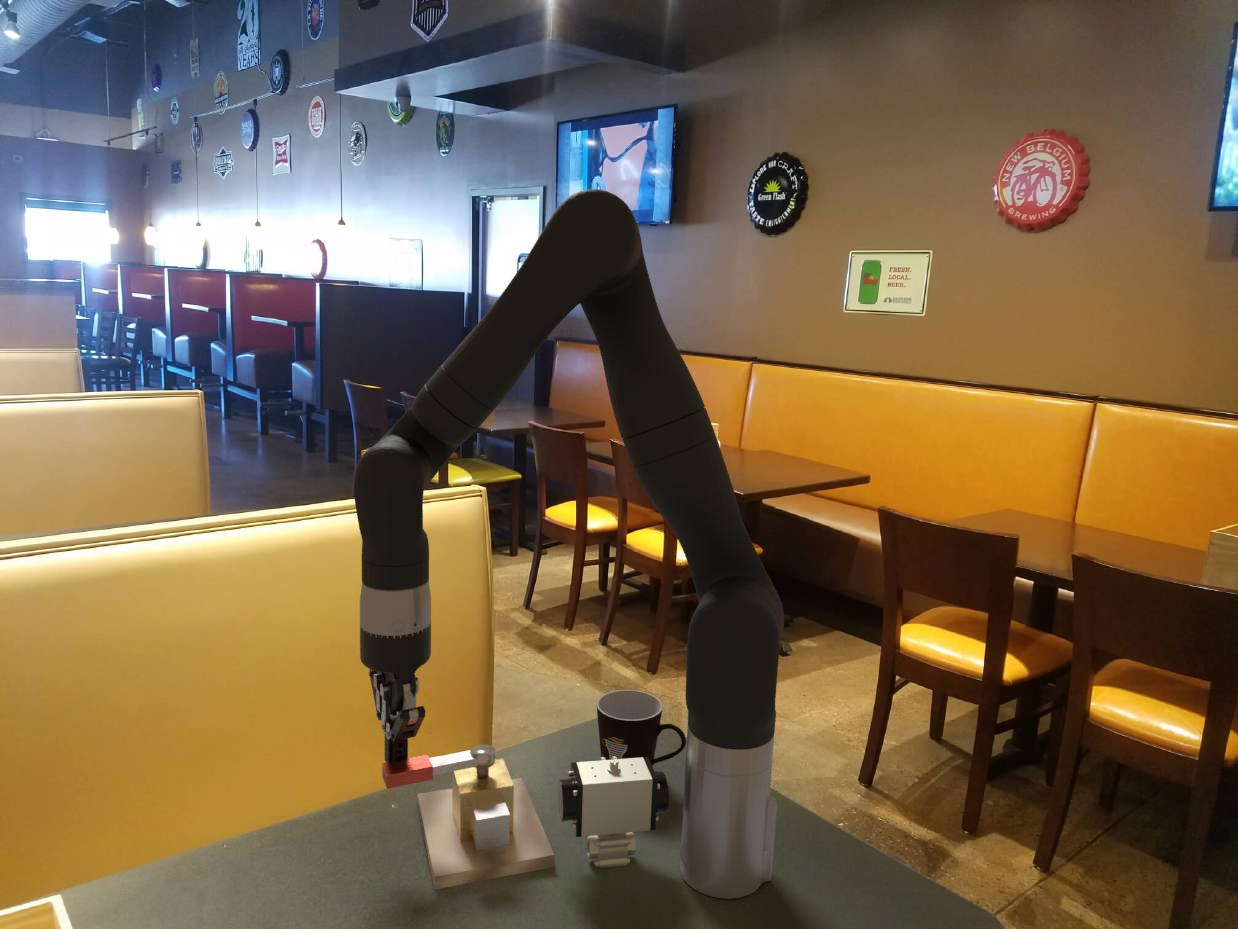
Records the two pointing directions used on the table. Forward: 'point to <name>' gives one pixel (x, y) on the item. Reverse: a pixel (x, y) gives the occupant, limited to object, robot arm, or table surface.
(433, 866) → the mounting board
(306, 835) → the table surface
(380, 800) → the table surface
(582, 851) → the table surface
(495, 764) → the valve
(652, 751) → the coffee mug
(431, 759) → the lever
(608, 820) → the pneumatic valve
